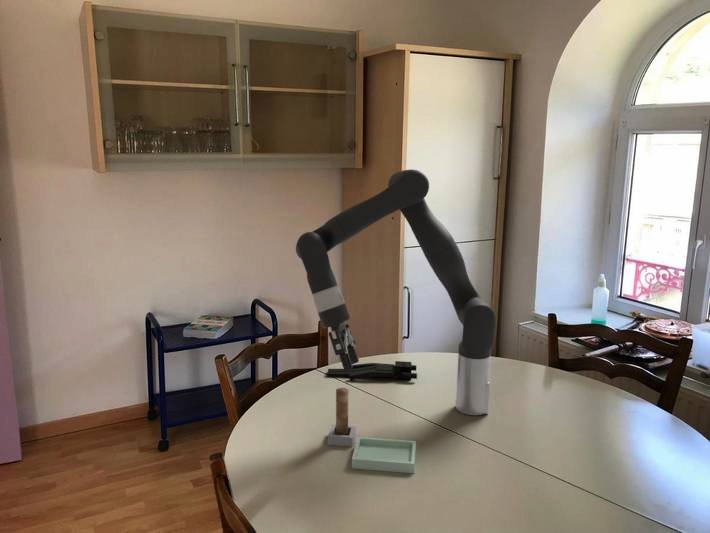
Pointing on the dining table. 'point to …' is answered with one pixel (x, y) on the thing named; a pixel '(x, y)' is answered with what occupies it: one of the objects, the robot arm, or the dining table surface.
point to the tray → (384, 455)
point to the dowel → (342, 411)
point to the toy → (377, 371)
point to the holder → (342, 437)
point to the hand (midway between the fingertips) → (352, 366)
